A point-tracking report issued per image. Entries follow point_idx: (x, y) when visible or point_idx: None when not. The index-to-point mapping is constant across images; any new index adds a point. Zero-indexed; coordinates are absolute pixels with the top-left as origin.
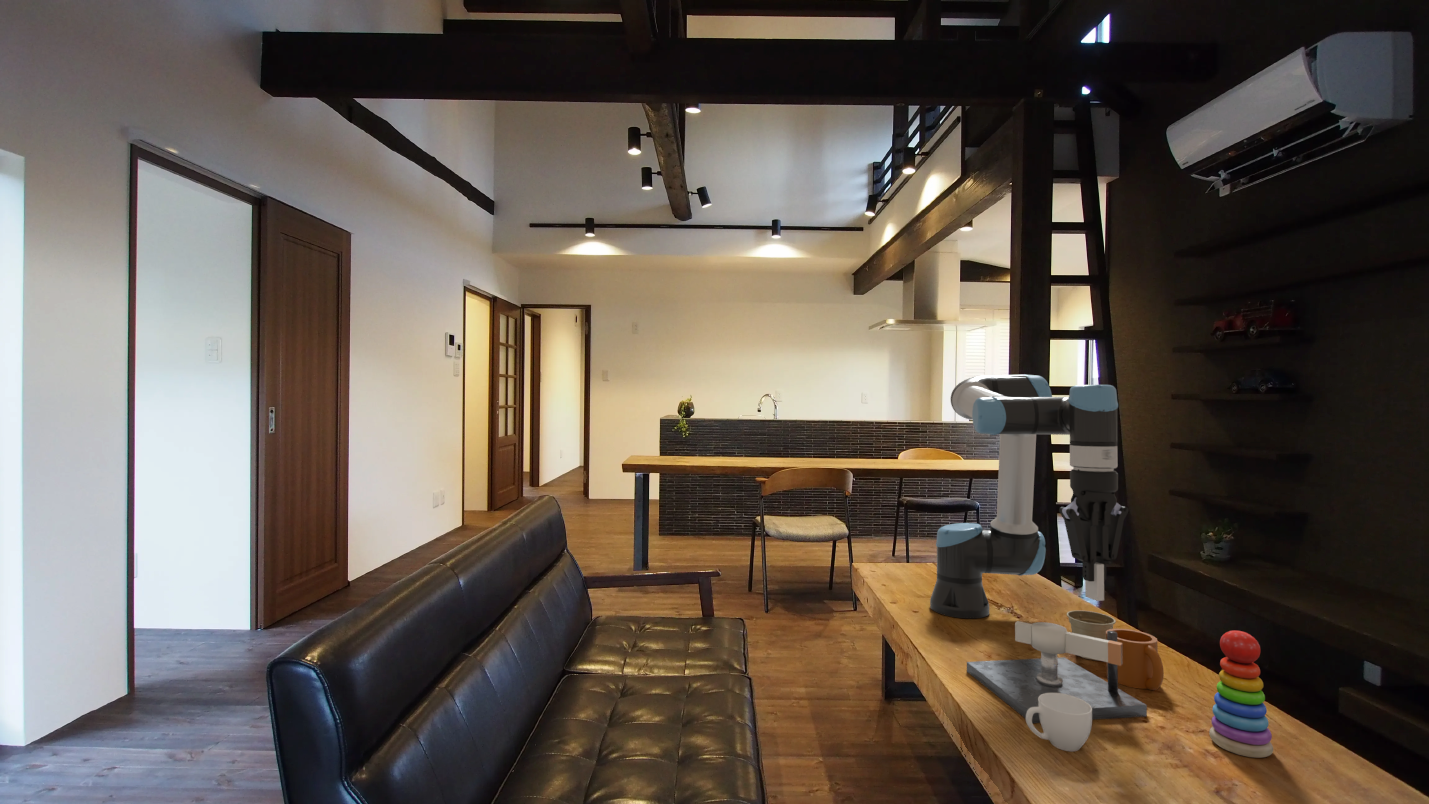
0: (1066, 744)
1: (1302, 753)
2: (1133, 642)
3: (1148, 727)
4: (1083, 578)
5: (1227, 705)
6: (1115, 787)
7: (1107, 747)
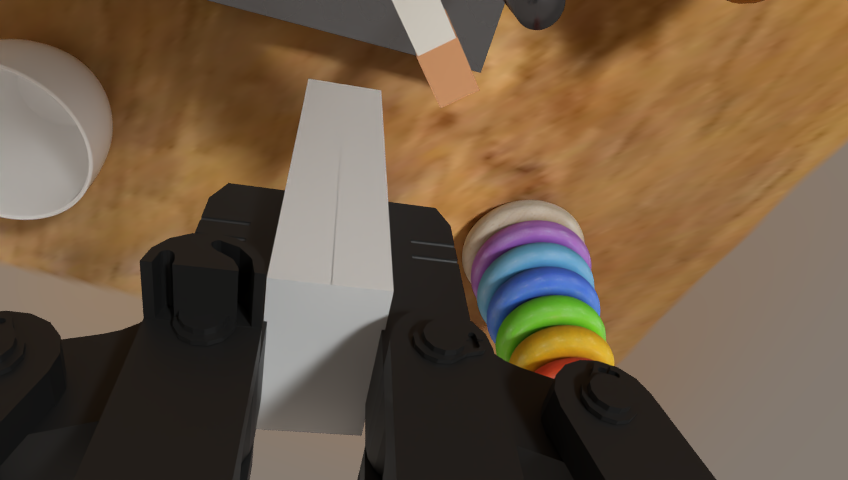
0: (19, 136)
1: (606, 297)
2: None
3: (407, 108)
4: (224, 189)
5: (488, 321)
6: (56, 261)
7: (182, 142)
